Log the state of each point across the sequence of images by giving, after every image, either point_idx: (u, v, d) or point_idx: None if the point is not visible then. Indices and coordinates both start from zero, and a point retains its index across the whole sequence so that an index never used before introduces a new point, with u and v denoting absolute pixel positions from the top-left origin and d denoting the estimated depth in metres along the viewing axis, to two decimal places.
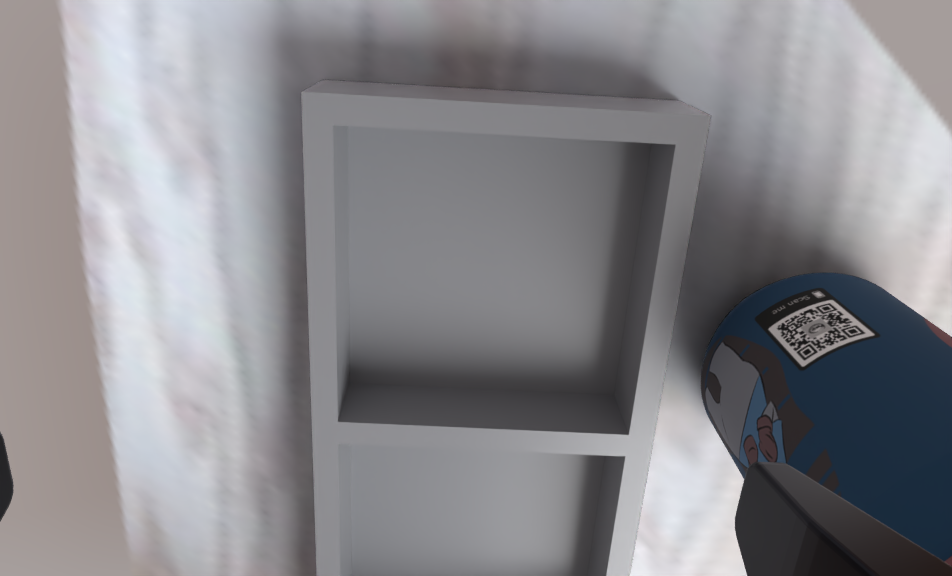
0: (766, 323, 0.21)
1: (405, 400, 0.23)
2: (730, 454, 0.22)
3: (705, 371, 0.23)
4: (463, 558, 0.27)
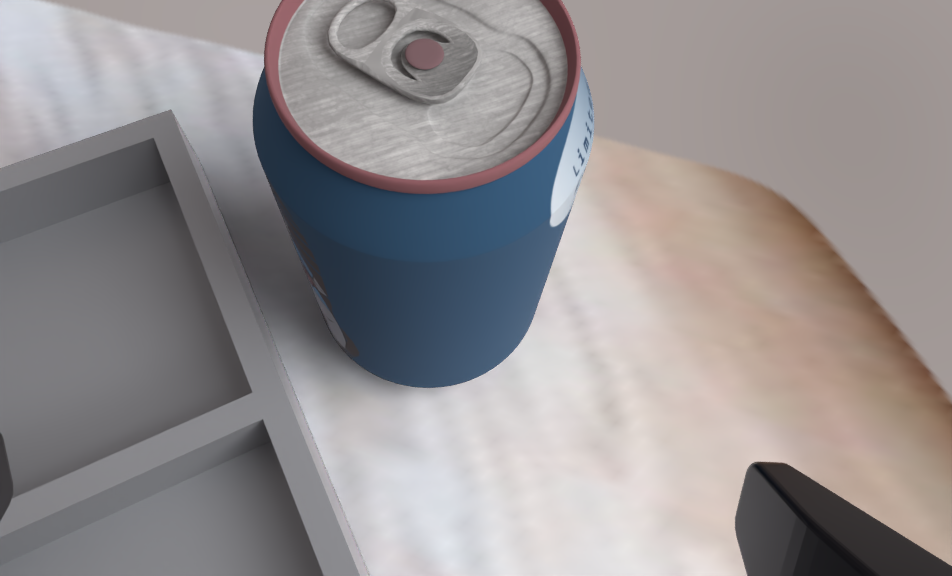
0: None
1: None
2: (355, 343, 0.19)
3: (325, 321, 0.22)
4: None
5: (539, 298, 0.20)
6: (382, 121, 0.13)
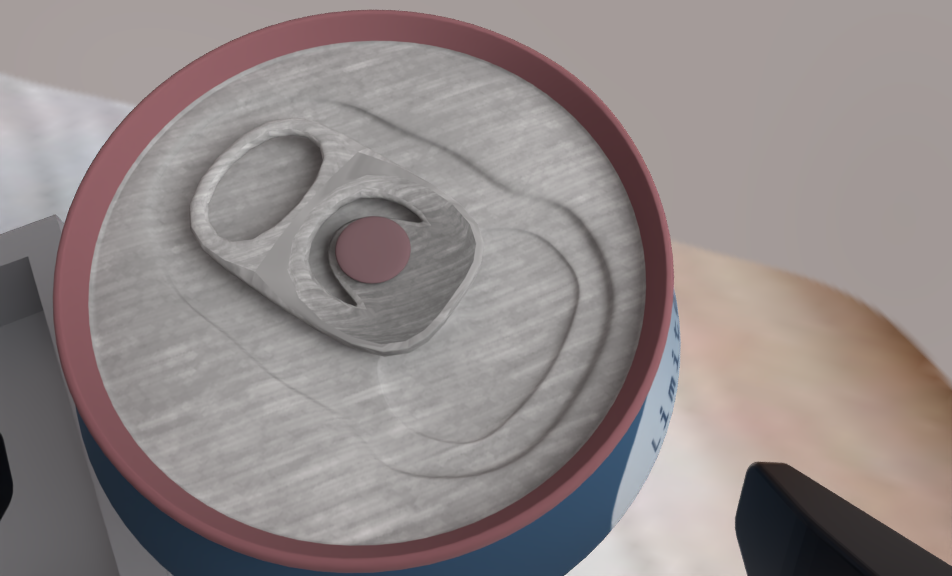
0: None
1: None
2: None
3: None
4: None
5: None
6: (287, 395, 0.06)
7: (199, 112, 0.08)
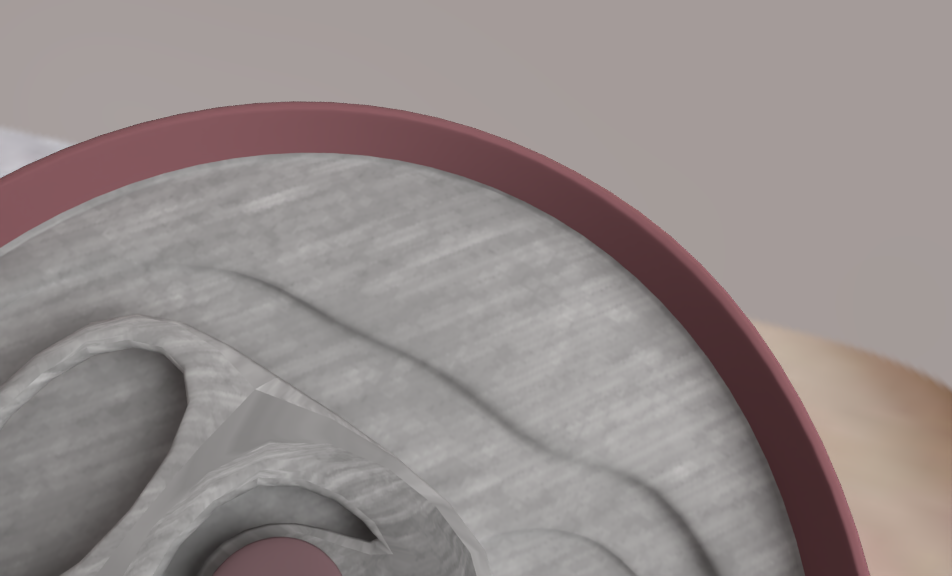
0: None
1: None
2: None
3: None
4: None
5: None
6: None
7: None
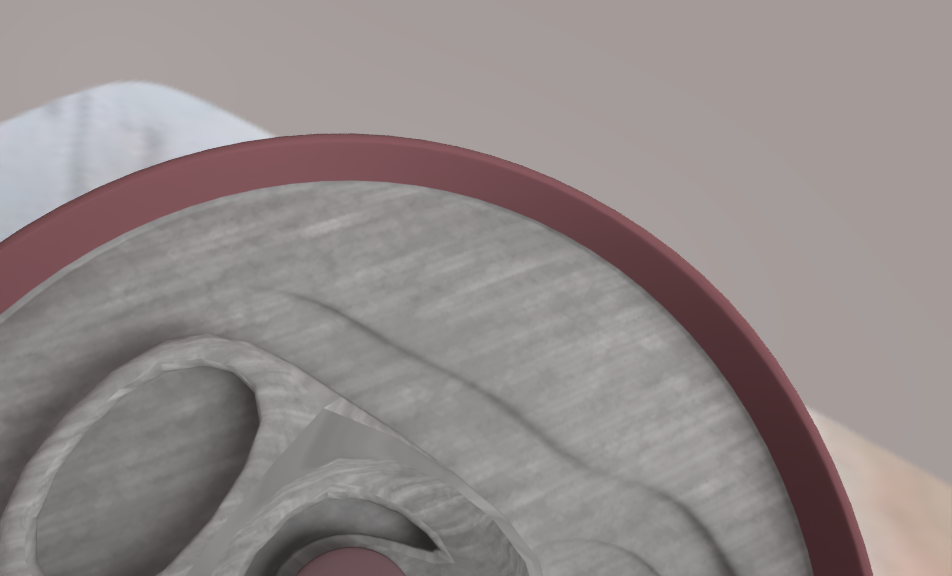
0: None
1: None
2: None
3: None
4: None
5: None
6: None
7: (38, 313, 0.04)
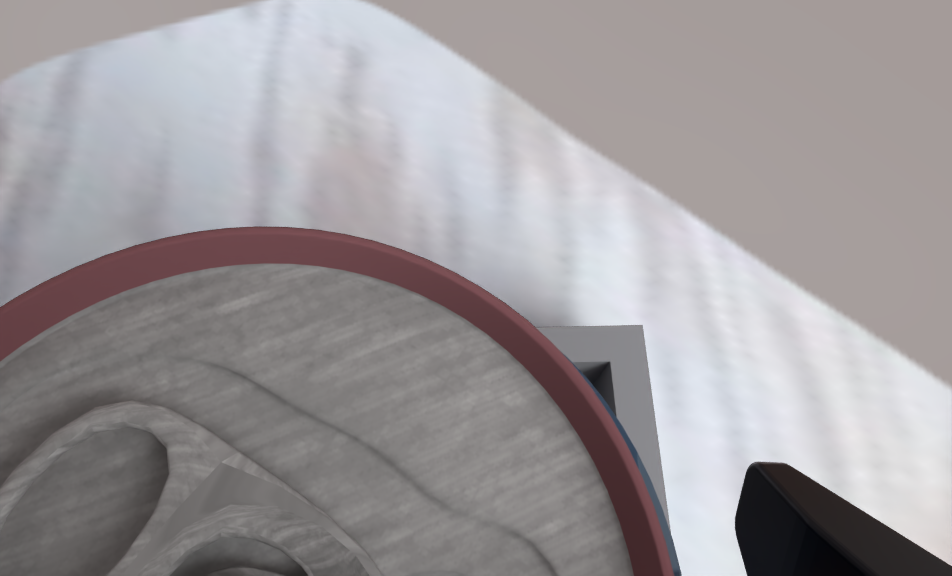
0: None
1: None
2: None
3: None
4: None
5: None
6: None
7: None
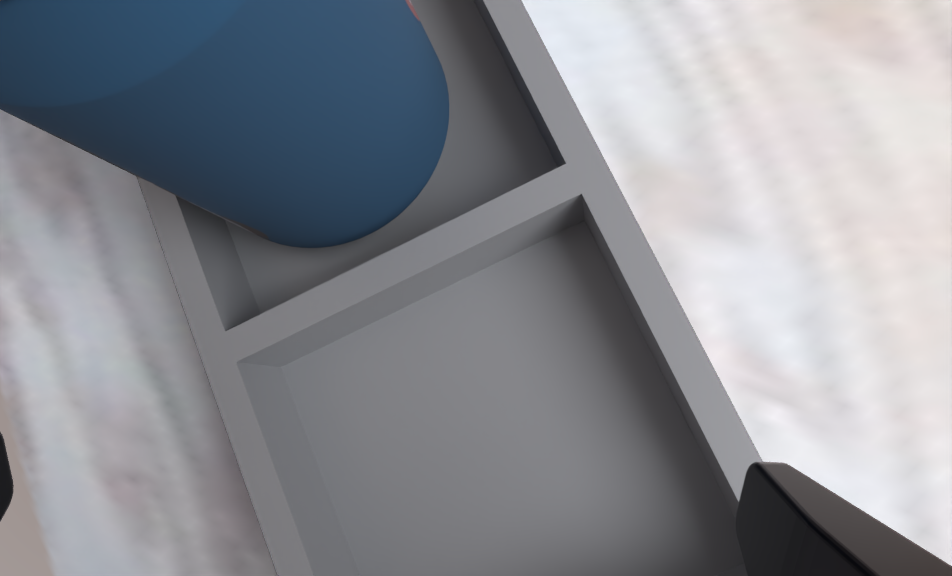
0: None
1: None
2: (244, 224, 0.16)
3: None
4: (523, 537, 0.18)
5: (428, 76, 0.16)
6: None
7: None
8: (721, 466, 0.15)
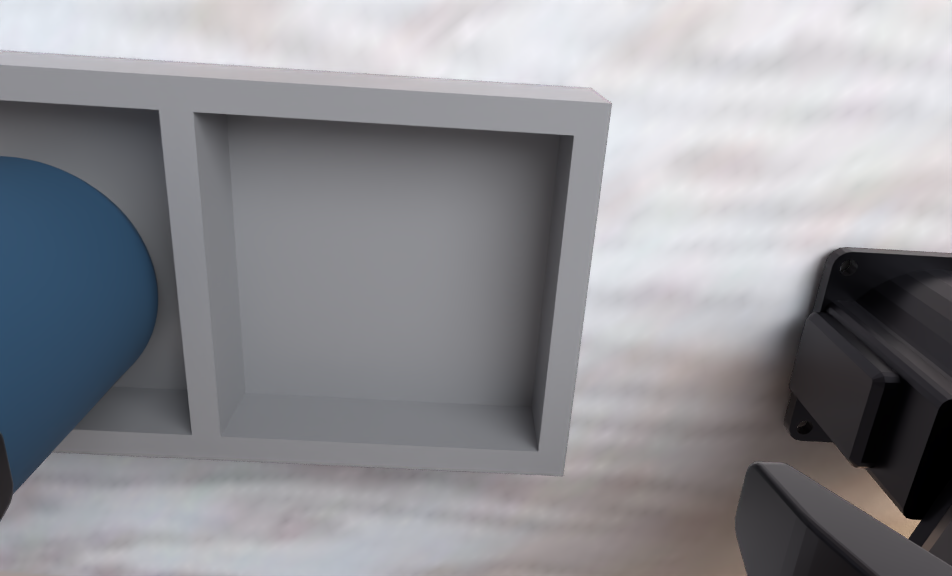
0: None
1: None
2: None
3: None
4: (460, 279, 0.21)
5: (20, 196, 0.16)
6: None
7: None
8: (471, 128, 0.17)
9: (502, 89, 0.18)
